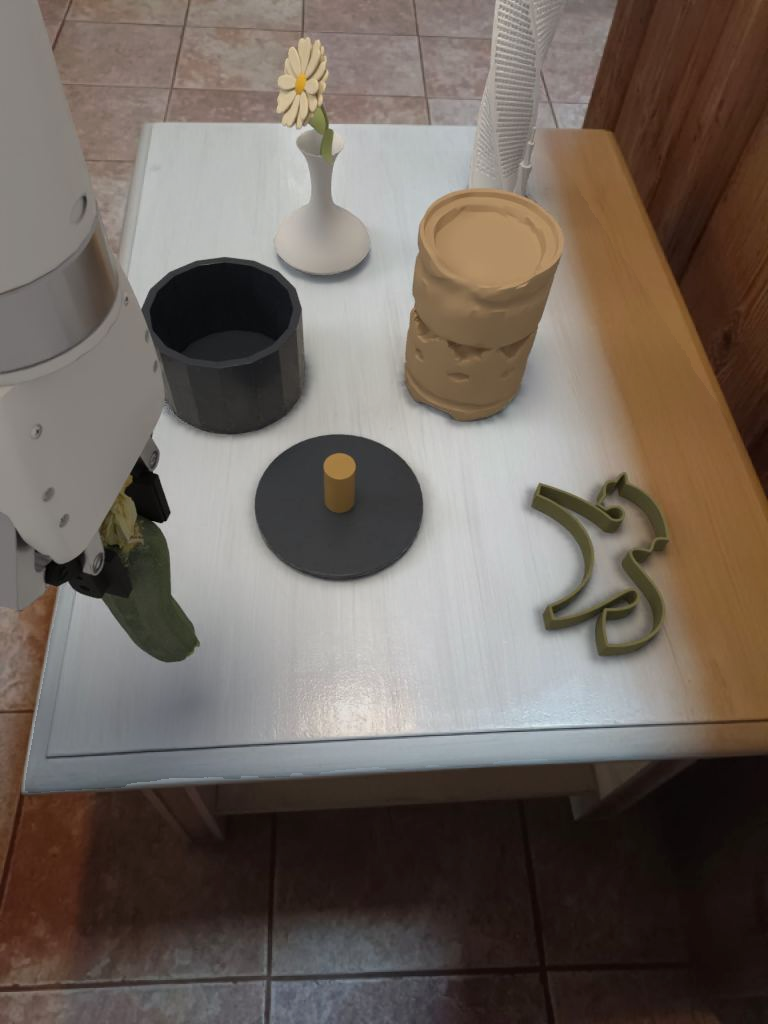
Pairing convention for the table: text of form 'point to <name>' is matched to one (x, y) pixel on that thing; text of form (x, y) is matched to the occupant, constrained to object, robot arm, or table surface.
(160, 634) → the vegetable
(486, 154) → the skyscraper
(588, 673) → the table surface
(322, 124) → the flower in vase
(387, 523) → the lid
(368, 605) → the table surface
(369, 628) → the table surface
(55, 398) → the robot arm
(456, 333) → the container
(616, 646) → the cookie cutter
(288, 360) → the pot
